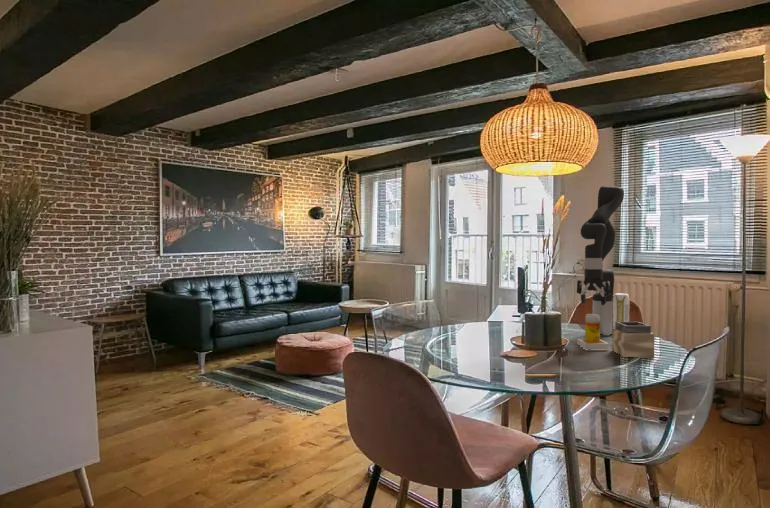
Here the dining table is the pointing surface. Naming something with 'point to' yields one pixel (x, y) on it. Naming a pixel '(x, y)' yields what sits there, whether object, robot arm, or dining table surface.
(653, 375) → the dining table surface
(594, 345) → the low collar
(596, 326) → the beer can
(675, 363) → the dining table surface
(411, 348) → the dining table surface
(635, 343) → the stand
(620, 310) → the juice carton
